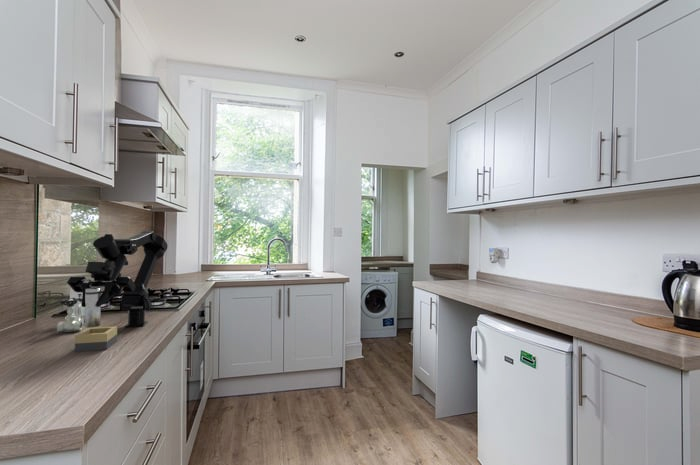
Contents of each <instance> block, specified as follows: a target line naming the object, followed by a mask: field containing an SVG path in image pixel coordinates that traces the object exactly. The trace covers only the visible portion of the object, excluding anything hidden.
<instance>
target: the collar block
mask: <svg viewBox="0 0 700 465" xmlns="http://www.w3.org/2000/svg"><path fill="white" fill-rule="evenodd" d="M74 339H75V340H74V352H75V353H76V352H89V351H91V352H92V351H106V350H108V349H109V348H111V347H112V346H113V345H114V344H115V343H116V342H118V326H103V327H102V326H97V327H91V328H86V329H84V330H81V331H79V333H77V334H75V336H74Z"/></svg>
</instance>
